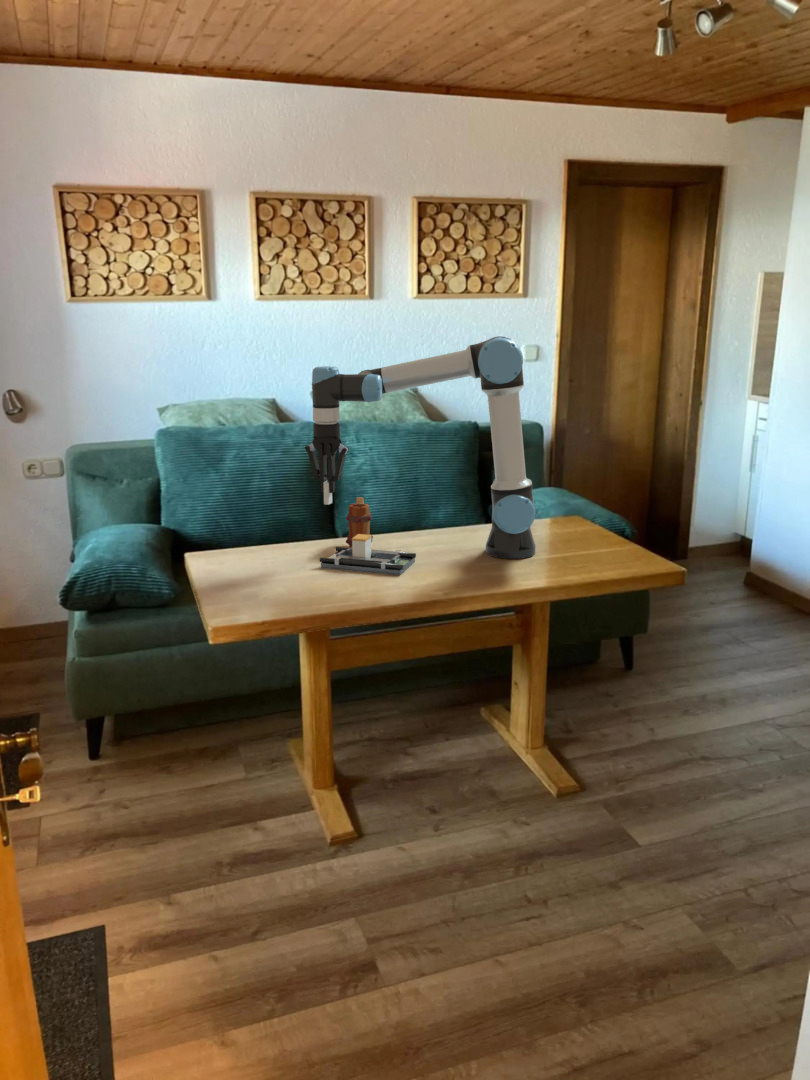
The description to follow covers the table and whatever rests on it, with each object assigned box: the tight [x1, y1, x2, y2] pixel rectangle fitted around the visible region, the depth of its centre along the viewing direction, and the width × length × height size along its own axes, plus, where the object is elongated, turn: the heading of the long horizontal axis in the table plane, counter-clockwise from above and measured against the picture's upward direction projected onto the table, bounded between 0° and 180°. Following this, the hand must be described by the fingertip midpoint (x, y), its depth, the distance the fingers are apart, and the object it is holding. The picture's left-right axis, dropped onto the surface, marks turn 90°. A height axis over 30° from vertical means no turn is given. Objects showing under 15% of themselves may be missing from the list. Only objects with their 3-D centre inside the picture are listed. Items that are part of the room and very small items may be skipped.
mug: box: [345, 496, 374, 548], centre depth 266 cm, size 15×8×15 cm, turn 179°
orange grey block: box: [352, 534, 372, 558], centre depth 249 cm, size 4×5×7 cm
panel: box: [319, 546, 417, 577], centre depth 249 cm, size 25×14×3 cm, turn 72°
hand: (328, 503), depth 248 cm, fingers closed
